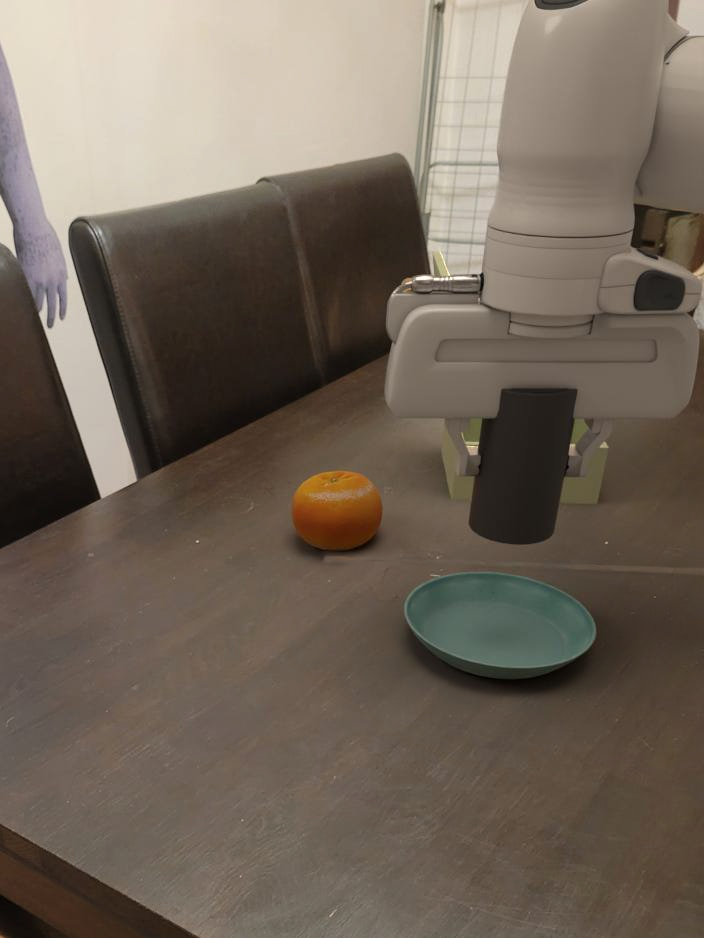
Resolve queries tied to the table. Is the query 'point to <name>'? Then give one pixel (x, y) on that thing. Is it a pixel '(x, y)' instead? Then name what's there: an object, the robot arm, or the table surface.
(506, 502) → the black cup
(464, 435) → the chest
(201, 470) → the table surface
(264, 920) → the table surface
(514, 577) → the saucer
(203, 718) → the table surface
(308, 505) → the fruit
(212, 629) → the table surface
